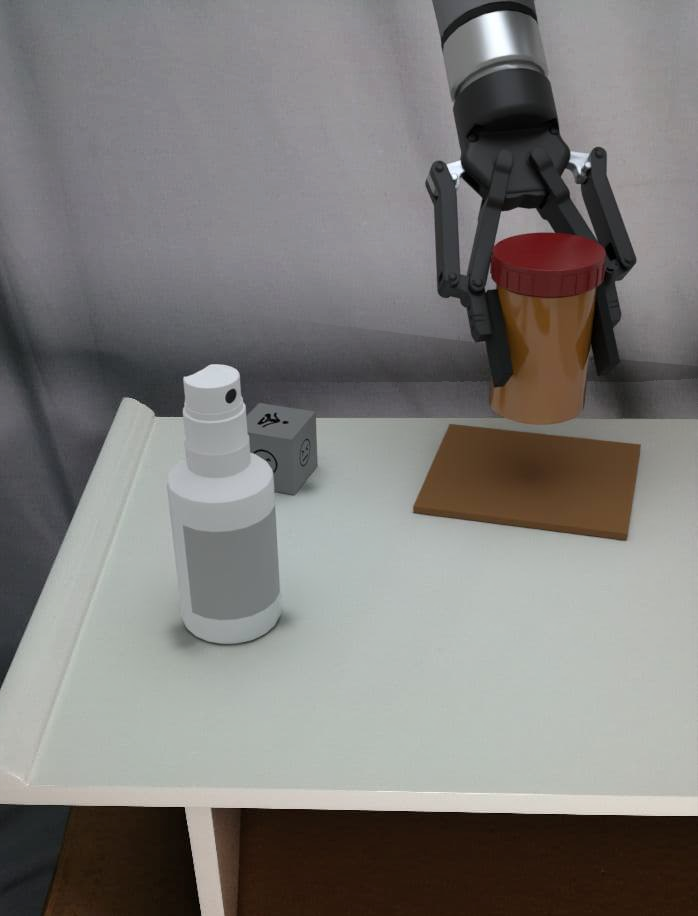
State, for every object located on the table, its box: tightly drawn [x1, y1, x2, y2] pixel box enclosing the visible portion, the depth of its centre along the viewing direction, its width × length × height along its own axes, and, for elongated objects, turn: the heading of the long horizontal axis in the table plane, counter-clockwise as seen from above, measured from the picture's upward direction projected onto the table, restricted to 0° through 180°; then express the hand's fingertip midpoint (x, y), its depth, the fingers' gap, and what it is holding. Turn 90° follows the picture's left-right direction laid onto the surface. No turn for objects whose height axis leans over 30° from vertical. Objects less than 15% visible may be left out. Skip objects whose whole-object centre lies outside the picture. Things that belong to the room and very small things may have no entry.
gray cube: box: [246, 402, 319, 496], centre depth 95 cm, size 5×5×5 cm
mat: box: [412, 423, 642, 541], centre depth 94 cm, size 16×14×1 cm
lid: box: [489, 231, 606, 297], centre depth 84 cm, size 8×8×2 cm
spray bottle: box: [166, 363, 282, 645], centre depth 76 cm, size 7×7×18 cm
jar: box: [488, 283, 597, 426], centre depth 87 cm, size 7×7×12 cm
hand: (556, 374), depth 85 cm, fingers closed on jar, 7 cm apart
